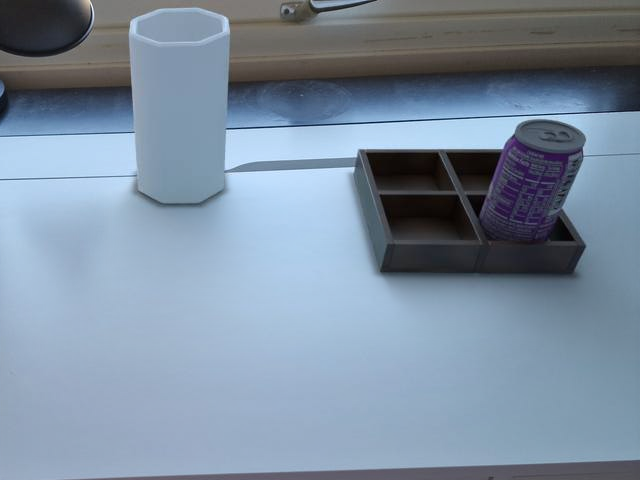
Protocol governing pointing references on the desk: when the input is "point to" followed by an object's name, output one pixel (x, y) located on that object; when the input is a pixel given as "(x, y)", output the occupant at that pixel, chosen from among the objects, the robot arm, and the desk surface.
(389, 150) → the grid
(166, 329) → the desk surface
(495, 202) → the beverage can
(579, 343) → the desk surface
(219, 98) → the cup
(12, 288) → the desk surface
